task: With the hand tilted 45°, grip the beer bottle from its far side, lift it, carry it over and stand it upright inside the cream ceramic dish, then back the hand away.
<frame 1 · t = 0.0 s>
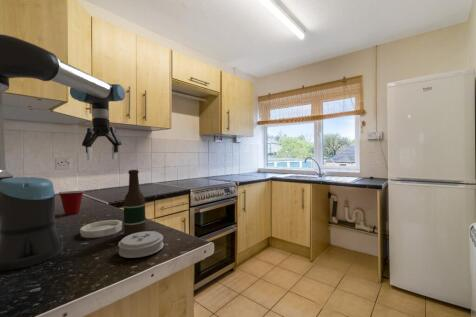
hand: (102, 159, 114), 28 cm above the table, tool pointing down, fingers open, 13 cm apart
beer bottle: (135, 234, 83), on the table
dish: (102, 231, 86), on the table
plastic cup: (72, 214, 115), on the table
lid: (142, 251, 68), on the table
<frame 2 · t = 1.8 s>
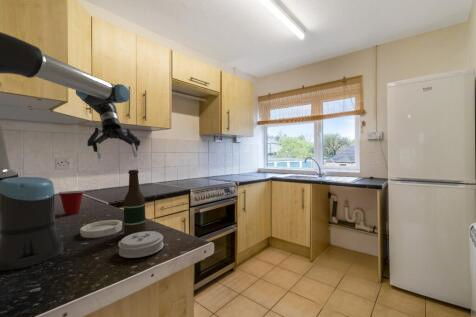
hand: (118, 155, 92), 29 cm above the table, tool tilted 45°, fingers open, 13 cm apart
nothing on the table moved.
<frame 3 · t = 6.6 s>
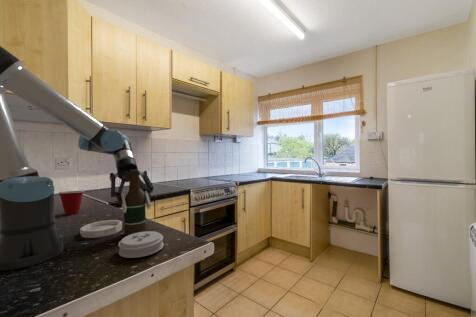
hand: (137, 208, 80), 10 cm above the table, tool tilted 45°, fingers closed on beer bottle, 7 cm apart
beer bottle: (135, 234, 83), on the table, touching gripper
everything else where it was.
when the fingers open (13 cm above the table, at t = 12.1 s): beer bottle drops 1 cm, resting on dish.
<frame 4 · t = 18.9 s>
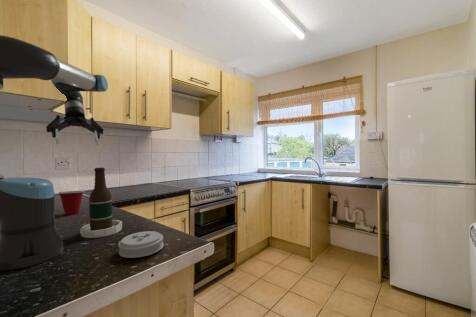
hand: (77, 142, 93), 36 cm above the table, tool tilted 45°, fingers open, 13 cm apart
beer bottle: (101, 229, 87), point 1 cm above the table, touching dish
everything else where it was.
at the end: beer bottle 0.6 cm off-centre on the dish, point 0.8 cm above the dish's base; beer bottle tilted 0°; the gripper is holding nothing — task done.
